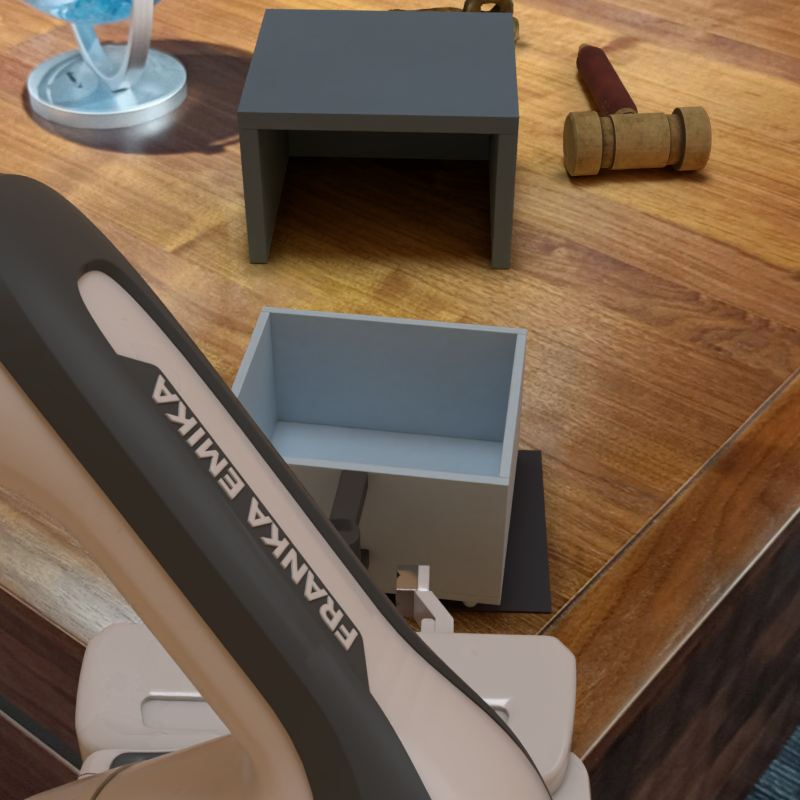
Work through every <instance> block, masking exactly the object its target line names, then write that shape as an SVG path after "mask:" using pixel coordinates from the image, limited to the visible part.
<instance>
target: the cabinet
mask: <svg viewBox="0 0 800 800" xmlns="http://www.w3.org/2000/svg"><path fill="white" fill-rule="evenodd" d="M513 17H514V12H513V13H491V12H432V11H388V10H372V9H371V10H369V9H367V10H366V9H365V10H363V9H362V10H361V9H313V8H312V9H309V8H307V9H306V8H305V9H303V8H302V9H301V8H265V11H264V13H263V17H262V21H261V24H260V28H259V30H258V35H257V39H256V43H255V46H254V50H253V53H252V55H251V56H252V57H251V60H250V64H249V67H248V71H247V73H246V74H247V75H246V78H245V82H244V85H243V88H242V93H241V96H240V100H239V103H238V107H237V111H236V116H237V117H236V118H237V128H238V139H239V151H240V152H239V153H240V162H241V163H240V165H241V175H242V186H243V187H242V188H243V201H244V212H245V223H246V224H245V225H246V236H247V247H248V248H247V249H248V260H249V263H250V264H268V261H269V256H270V251H271V245H272V241H273V236H274V231H275V226H276V222H277V217H278V212H279V206H280V203H281V198H282V192H283V187H284V183H285V178H286V173H287V168H288V163H289V158H290V157H303V158H304V157H305V158H307V157H308V158H354V159H357V158H359V159H403V160H407V159H408V160H410V159H411V160H413V159H414V160H450V161H451V160H453V161H454V160H456V161H457V160H459V161H460V160H461V161H488V175H489V177H488V178H489V179H488V180H489V214H490V215H489V216H490V252H491V253H490V254H491V269H497V270H499V269H505V270H509V269H510V268H511V257H512V256H511V254H512V239H513V224H514V208H515V207H514V206H515V191H516V175H517V174H516V173H517V162H518V161H517V159H518V143H519V128H520V108H519V92H518V76H517V74H518V73H517V59H516V44H515V43H516V42H515V41H514V27H513Z"/></svg>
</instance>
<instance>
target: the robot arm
mask: <svg viewBox="0 0 800 800" xmlns="http://www.w3.org/2000/svg"><path fill="white" fill-rule="evenodd" d="M0 488H2V489H4V490H7V491H9V492H11V493H13V494H15V495H17V496H19V497H21V498H22V499H23V500H26V501H27V502H28V503H31V504H32V505H33V506H35V507H37V508H38V509H40V510H42V511H43V512H45V513H46V514H47V515H48V516H49V517H51V518H52V519H53V520H54V521H55V522H57V523H58V524H59V525H60V526H62V527H63V528H64V529H65V530H66V531H67V532H68V533H69V534H70V535H71V536H72V537H73V538H74V539H75V540H76V541H77V542H78V543H79V544H80V546H81V547H82V548H83V549H84V550H85V551H86V552H87V553H88V555H89V556H90V557H91V558H92V560H93V561H94V562H95V563H96V565H97V566H98V568H100V570H101V571H102V572H103V574H104V575H105V576H106V577H107V579H108V580H109V582H111V584H112V585H113V587H114V588H115V589H116V590H117V591H118V592H119V594H120V595H121V596H122V598H123V599H124V600H125V601H126V603H127V604H128V605H129V607H131V609H132V610H133V612H134V613H135V614H136V615H137V617H138V618H139V619H140V620H141V622H142V623H139V622H138V623H135V622H115V623H111V624H109V625H108V626H106V627H105V628H104V629H102V630H100V631H99V632H98V633H96V634H95V635H94V636H93V637H91V638H90V639H89V641H88V643H87V645H86V648H85V650H84V654H83V658H82V662H81V666H80V667H81V668H80V672H79V678H78V683H77V684H78V685H77V690H76V691H77V692H76V701H75V711H74V713H75V715H74V727H75V728H74V729H75V734H76V738H77V743H78V747H79V752H80V757H81V761H82V765H81V768H80V770H79V773H78V775H77V779H76V780H73V781H70V782H68V783H65V784H61V785H59V786H55V787H52V788H50V789H47V790H44V791H42V792H39V793H36V794H33V795H31V796H29V797H27V798H24V799H23V800H593V798H592V797H593V796H592V785H591V777H590V774H589V771H588V770H587V768H586V766H585V764H584V762H583V761H582V760H581V759H580V757H579V756H578V755H576V754H575V753H574V752H572V743H573V737H574V736H573V735H574V726H575V725H574V724H575V718H576V717H575V715H576V704H577V703H576V702H577V659H576V656H575V654H574V653H573V652H572V651H571V650H570V649H569V648H568V647H567V646H566V645H565V644H564V643H563V642H562V641H561V640H560V639H559V638H557V637H556V636H552V635H546V634H545V635H541V634H509V633H507V634H506V633H503V634H502V633H474V632H471V633H469V632H454V631H455V630H454V627H455V626H454V623H455V622H454V621H455V619H454V617H453V616H452V615H451V613H450V612H449V610H446V609H445V607H444V606H443V605H442V604H441V602H440V601H439V600H438V599H437V597H436V596H435V595H434V593H433V592H432V591H429V572H430V567H429V565H419V566H418V565H397V579H396V607H395V606H394V604H393V603H392V602H391V600H390V599H389V598H388V597H387V595H386V594H385V593H384V591H383V590H382V589H381V587H380V586H379V585H378V583H377V582H376V581H375V579H374V578H373V577H372V575H371V574H370V573H369V572H368V570H367V569H366V568H365V567H364V565H363V564H362V563H361V561H360V560H359V559H358V557H357V556H356V555H355V553H354V552H353V551H352V549H351V548H350V547H349V545H348V544H347V543H346V541H345V540H344V539H343V537H342V536H341V535H340V533H339V532H338V531H337V529H336V528H335V527H334V525H333V524H332V523H331V521H330V520H329V519H328V517H327V516H326V515H325V513H324V512H323V511H322V509H321V508H320V507H319V505H318V504H317V503H316V501H315V500H314V499H313V497H312V496H311V495H310V493H309V492H308V491H307V489H306V488H305V487H304V485H303V484H302V483H301V482H300V480H299V479H298V478H297V476H296V475H295V474H294V472H293V471H292V470H291V468H290V467H289V466H288V464H287V463H286V462H285V460H284V459H283V458H282V457H281V455H280V454H279V453H278V451H277V450H276V449H275V447H274V446H273V445H272V443H271V442H270V441H269V439H268V438H267V437H266V436H265V434H264V433H263V432H262V430H261V429H260V428H259V426H258V425H257V424H256V422H255V421H254V420H253V418H252V417H251V416H250V414H249V413H248V412H247V411H246V409H245V408H244V407H243V405H242V404H241V403H240V401H239V400H238V398H237V397H236V396H235V394H234V393H233V392H232V390H231V388H230V386H229V385H228V384H227V382H226V381H225V380H224V378H223V377H222V376H221V374H220V373H219V372H218V371H217V369H216V368H215V367H214V365H213V364H212V363H211V362H210V360H209V359H208V358H207V356H206V355H205V354H204V352H203V351H202V350H201V348H200V347H199V346H198V345H197V344H196V342H195V341H194V340H193V338H192V337H191V336H190V334H189V333H188V332H187V331H186V330H185V328H184V327H183V326H182V325H181V324H180V322H179V321H178V320H177V319H176V317H175V316H174V315H173V313H172V312H171V311H170V310H169V308H168V307H167V306H166V305H165V304H164V302H163V301H162V299H161V298H160V297H159V296H158V295H157V293H156V292H155V291H154V290H153V288H152V287H151V286H150V285H149V284H148V283H147V281H146V280H145V279H144V277H142V275H141V274H140V272H138V270H137V269H136V268H135V267H134V266H133V265H132V263H131V262H130V261H129V260H128V259H127V258H126V257H125V256H124V254H123V253H122V252H121V251H120V250H119V248H117V247H116V245H115V244H114V243H113V242H112V241H111V240H110V239H109V238H108V237H107V236H106V234H104V233H103V231H101V229H99V228H98V226H97V225H96V224H95V223H94V222H93V221H92V220H91V219H90V218H88V217H87V216H86V214H85V213H83V211H82V210H80V209H79V208H78V207H77V206H76V205H75V204H74V203H72V202H71V201H70V200H69V199H68V198H66V197H65V196H64V195H63V194H61V193H60V192H58V191H57V190H55V189H54V188H52V187H51V186H50V185H47V184H46V183H44V182H42V181H40V180H37V179H35V178H33V177H30V176H26V175H23V174H15V173H14V174H13V173H5V172H0ZM406 618H409V619H410V618H412V619H413V620H414V621H415V622H416V624H417V626H418V628H419V630H420V631H416V630H414V628H413V627H412V626H411V624H409V622H408V621H407V620H406Z"/></svg>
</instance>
